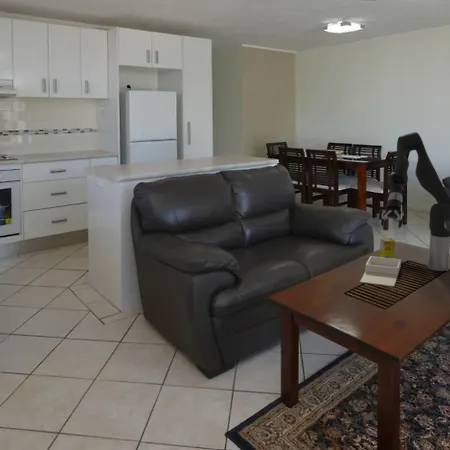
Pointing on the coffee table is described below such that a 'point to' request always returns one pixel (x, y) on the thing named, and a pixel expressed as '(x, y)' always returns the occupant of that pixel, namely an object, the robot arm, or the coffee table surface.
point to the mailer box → (381, 271)
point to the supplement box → (387, 248)
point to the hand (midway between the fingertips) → (390, 226)
